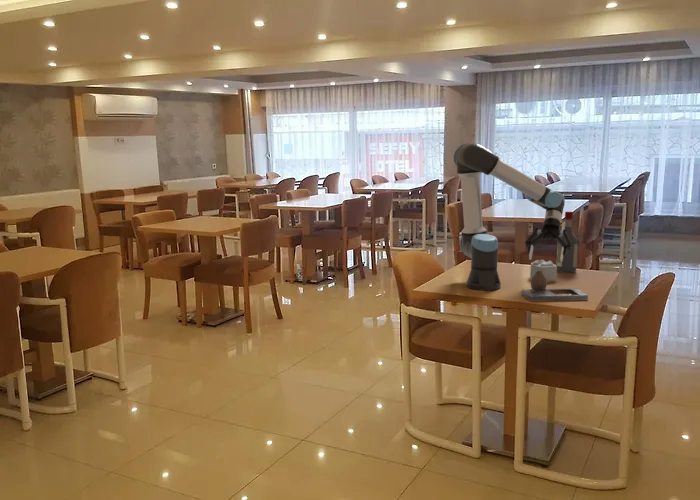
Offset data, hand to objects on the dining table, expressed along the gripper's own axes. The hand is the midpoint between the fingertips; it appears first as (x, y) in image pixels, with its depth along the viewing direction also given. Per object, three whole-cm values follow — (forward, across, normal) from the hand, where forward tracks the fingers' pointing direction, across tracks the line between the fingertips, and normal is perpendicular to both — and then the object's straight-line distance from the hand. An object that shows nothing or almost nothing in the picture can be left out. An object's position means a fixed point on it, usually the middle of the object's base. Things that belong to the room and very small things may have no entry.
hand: (545, 259), depth 280 cm
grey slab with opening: (+21, -7, +3) cm, 22 cm away
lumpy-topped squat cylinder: (-2, +4, -21) cm, 22 cm away
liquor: (-19, -4, -37) cm, 42 cm away
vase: (+16, +1, -3) cm, 16 cm away
